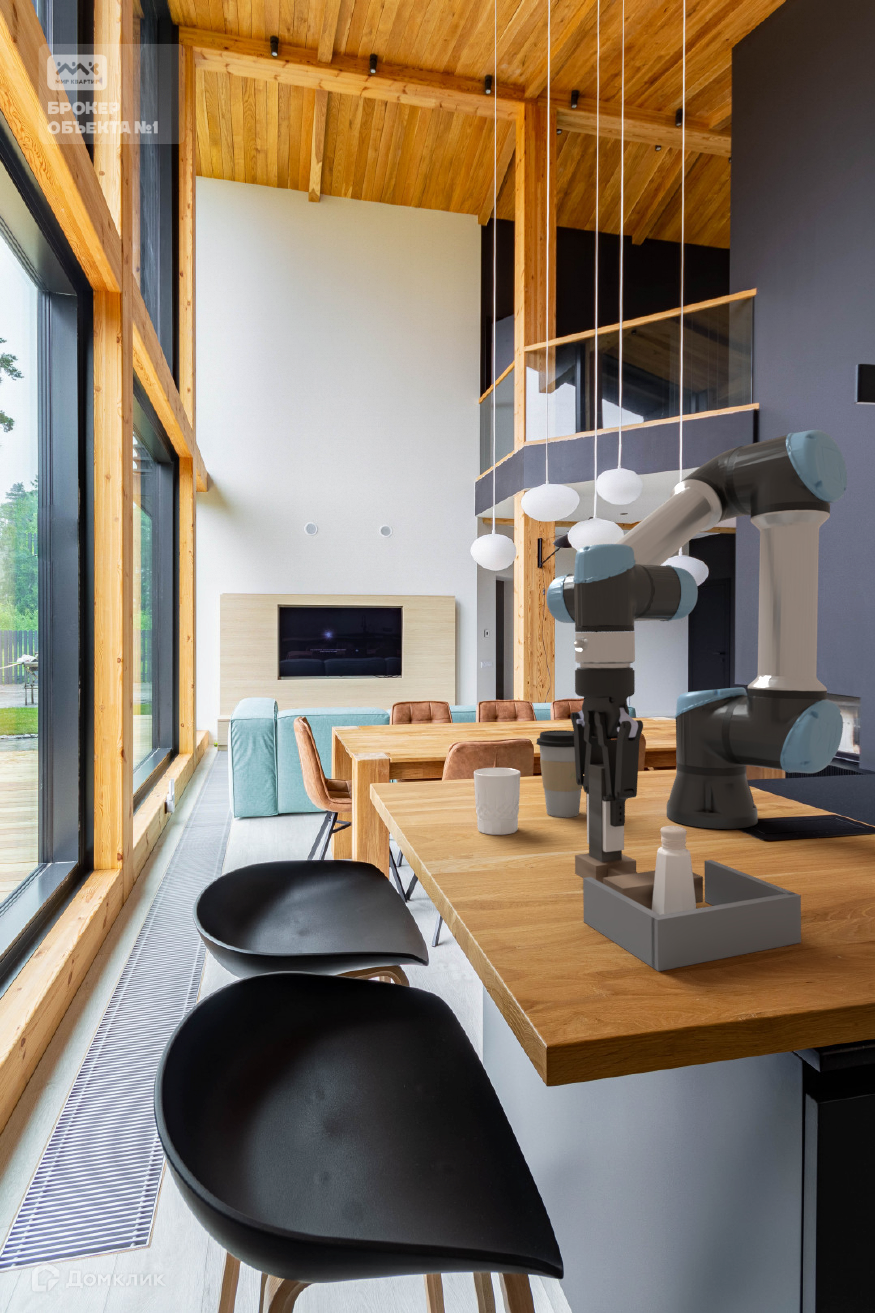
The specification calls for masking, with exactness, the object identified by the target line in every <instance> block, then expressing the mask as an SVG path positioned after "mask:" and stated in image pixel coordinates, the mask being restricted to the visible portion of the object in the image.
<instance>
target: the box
mask: <svg viewBox="0 0 875 1313" xmlns="http://www.w3.org/2000/svg"><path fill="white" fill-rule="evenodd" d="M582 882H583V883H582V884H583V886H582V887H583V888H582V890H583V893H582V894H583V897H582V898H583V922H584V923H585V924H587V925H588V926H590V927H591V928H593V929H594V930H596V931H597V932H598V933H600V934H602V935H603V936H604V937H606V938H607V939H609V940H611V941H612V942H614V943H615V944H616V945H618V946H619V947H621V948H623V949H624V950H626V951H627V952H628V953H630V954H632V955H633V956H635V957H636V958H637V959H638V960H640V961H642V962H643V963H645V964H646V965H648V966H649V967H651V968H652V969H653V970H655V971H656V972H662V971H668V970H673V969H676V968H681V967H687V966H691V965H697V964H701V963H707V962H711V961H716V960H722V959H726V958H727V959H728V958H731V957H737V956H741V955H746V954H751V953H756V952H760V951H762V952H763V951H766V950H770V949H775V948H780V947H786V946H791V945H797V944H800V943H802V897H801V896H802V895H801V894H798V893H796V892H793V891H792V890H788V889H786V888H783V887H781V886H778V885H776V884H774V883H771V882H768V881H765V880H763V879H761V878H758V877H755V876H753V875H750V874H747V873H745V872H743V871H740V870H738V869H735V868H733V867H731V866H728V865H725V864H723V863H720V862H718V861H715V860H713V859H707V860H704V902H705V903H708V904H709V905H711V906H705V907H699V908H696V909H692V910H686V911H680V912H674V913H669V914H663V915H659V914H657V913H655V912H654V911H652V910H650V909H648V908H646V907H644V906H643V905H641V904H639V903H637V902H635V901H634V900H632V899H630V898H628V897H626V896H625V895H623V894H621V893H619V892H617V891H615V890H614V889H612V888H610V887H608V886H606V885H605V884H603V883H601V882H599V881H597V880H595V879H594V878H592V877H587V878H582Z"/></svg>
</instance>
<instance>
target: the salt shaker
mask: <svg viewBox="0 0 875 1313" xmlns="http://www.w3.org/2000/svg"><path fill="white" fill-rule="evenodd" d="M687 831H688V830H687V829H686V828H684V827H682V826H676V825H666V826H661V828H660V835H661V836H660V838H661V839H660V841H661V846H660V847H658V848H657V852H656V857H655V858H656V859H655V870H654V871H655V879H654V890H653V900H652V911H654V912H655V913H657V914H659V915H663V914H669V913H674V912H680V911H686V910H692V909H697V903H696V900H695V891H694V882H693V873H694V872H693V866H692V865H693V864H692V855H691V850H689V849H687V845H686V844H687V838H686V837H687V834H688V832H687Z"/></svg>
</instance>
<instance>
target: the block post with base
mask: <svg viewBox="0 0 875 1313" xmlns="http://www.w3.org/2000/svg"><path fill="white" fill-rule="evenodd" d="M603 796H606V784H605V773H604V764H591V765H589V844H588V853H580V854H575V855H574V872H575V873H574V875H576V876H578V877H580V878H582V879H583V878H587V877H592V878H594V879H595V880H597V881H599V882H601V883H603V884H605V885H606V886H608V887H610V888H612V889H614V890H615V891H617V892H619V893H621V894H623V895H625V896H626V897H628V898H630V899H632V900H634V901H635V902H637V903H639V904H641V905H643V906H644V907H646V908H648V909H650V910H652V900H653V890H654V879H655V870H649V871H643V872H637V860H636V859H633V858H632V857H630V856H628V855H625V854H623V852H622V851H623V850H619V851H611V852H605V851H603V813H602V797H603ZM693 882H694V891H695V900H696V904H701V903H704V877H703V876H702V875H699V874H698V873H695V872H693Z"/></svg>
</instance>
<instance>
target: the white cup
mask: <svg viewBox="0 0 875 1313" xmlns="http://www.w3.org/2000/svg"><path fill="white" fill-rule="evenodd" d="M473 782H474V783H473V784H474V798H475V812H476V821H477V830H478V832H479V833H481V834H482V833H483V834H486V835H492V836H493V835H494V836H495V835H496V836H501V835H502V836H504V835H510V834H514V833H516V832H517V831H518V829H519V827H518V826H519V817H518V816H519V812H520V810H519V809H520V806H519V804H520V796H521V795H520V794H521V792H520V791H521V789H520V788H521V771H520V770H518V769H515V768H509V767H485V768H478V769H475V770H474V771H473Z"/></svg>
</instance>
